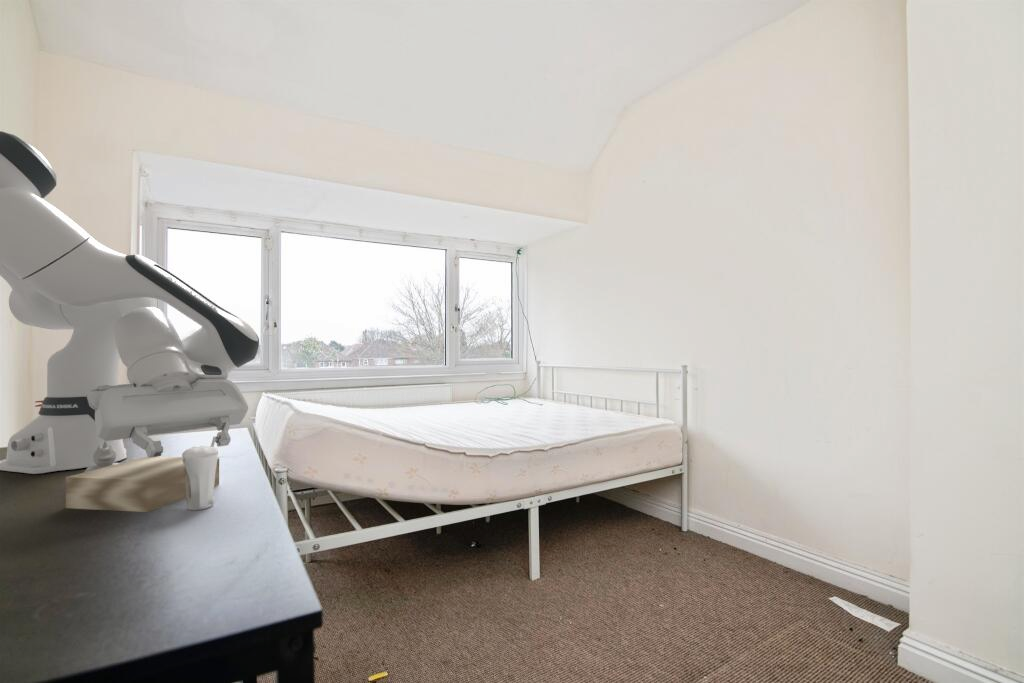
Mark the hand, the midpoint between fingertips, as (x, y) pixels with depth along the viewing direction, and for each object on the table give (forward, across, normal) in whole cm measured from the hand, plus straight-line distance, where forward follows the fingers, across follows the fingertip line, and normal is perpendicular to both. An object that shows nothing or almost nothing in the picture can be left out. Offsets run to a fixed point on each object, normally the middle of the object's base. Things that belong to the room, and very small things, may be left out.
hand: (192, 448), depth 73 cm
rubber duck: (-12, -4, +24) cm, 27 cm away
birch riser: (-2, -2, +14) cm, 14 cm away
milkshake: (+8, 0, +4) cm, 9 cm away
